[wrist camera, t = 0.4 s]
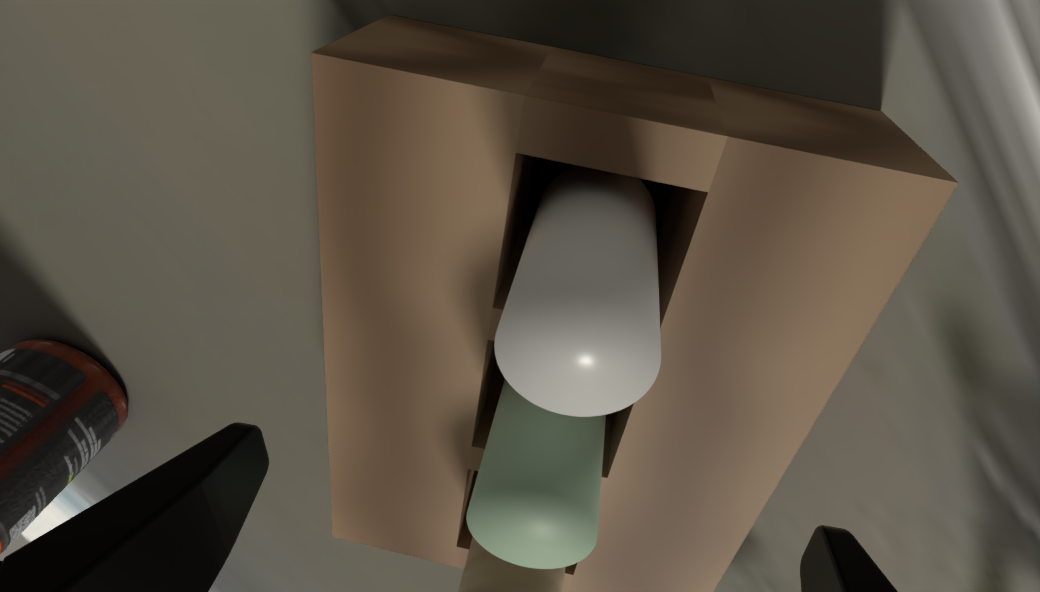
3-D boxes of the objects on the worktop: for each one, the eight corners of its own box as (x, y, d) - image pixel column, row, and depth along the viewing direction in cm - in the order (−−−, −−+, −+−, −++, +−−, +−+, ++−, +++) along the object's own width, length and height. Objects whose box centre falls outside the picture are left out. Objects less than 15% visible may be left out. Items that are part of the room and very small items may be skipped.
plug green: (619, 342, 19) (610, 503, 14) (597, 415, 21) (582, 580, 16) (517, 319, 19) (473, 470, 14) (504, 394, 21) (460, 551, 16)
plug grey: (670, 176, 16) (682, 306, 11) (638, 279, 18) (636, 431, 13) (548, 151, 16) (506, 268, 11) (529, 255, 18) (485, 396, 13)
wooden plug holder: (881, 111, 17) (958, 182, 13) (685, 513, 27) (692, 625, 23) (388, 14, 18) (311, 52, 13) (378, 440, 28) (332, 536, 24)
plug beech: (583, 459, 22) (565, 624, 17) (566, 514, 24) (545, 677, 19) (496, 439, 22) (453, 596, 17) (485, 495, 24) (444, 651, 19)
